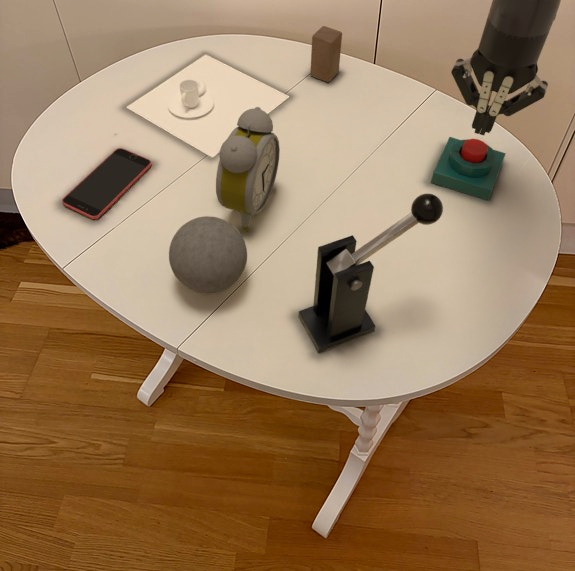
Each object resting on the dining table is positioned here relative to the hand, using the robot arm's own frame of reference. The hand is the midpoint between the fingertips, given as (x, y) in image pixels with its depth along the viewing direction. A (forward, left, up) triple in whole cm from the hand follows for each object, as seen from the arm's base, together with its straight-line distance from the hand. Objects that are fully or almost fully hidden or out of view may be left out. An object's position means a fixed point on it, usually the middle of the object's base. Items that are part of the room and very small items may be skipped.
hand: (480, 130), depth 86 cm
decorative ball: (+26, +34, -9) cm, 44 cm away
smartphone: (+49, +25, -9) cm, 56 cm away
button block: (0, -1, -9) cm, 9 cm away
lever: (+4, +30, +4) cm, 30 cm away
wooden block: (+30, -15, -9) cm, 34 cm away
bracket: (+8, +34, -9) cm, 36 cm away
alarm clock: (+28, +20, -9) cm, 36 cm away
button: (0, -1, -5) cm, 5 cm away
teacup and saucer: (+45, +1, -9) cm, 46 cm away
